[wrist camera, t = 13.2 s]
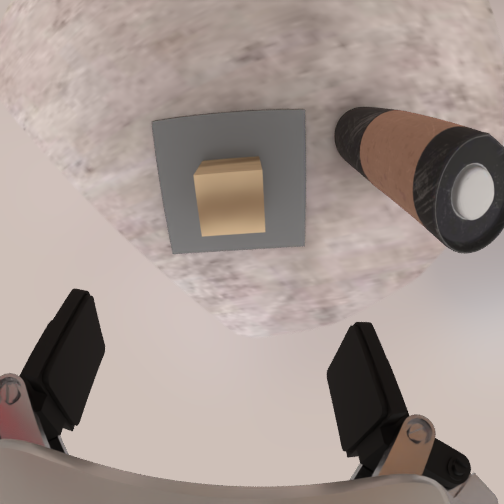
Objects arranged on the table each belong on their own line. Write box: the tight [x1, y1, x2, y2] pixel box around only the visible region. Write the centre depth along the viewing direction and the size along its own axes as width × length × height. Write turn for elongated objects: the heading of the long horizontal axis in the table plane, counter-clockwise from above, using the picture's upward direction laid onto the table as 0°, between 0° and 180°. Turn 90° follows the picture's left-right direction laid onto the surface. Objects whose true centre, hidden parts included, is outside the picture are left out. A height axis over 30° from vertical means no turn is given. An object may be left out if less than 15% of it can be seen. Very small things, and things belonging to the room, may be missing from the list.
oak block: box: [193, 156, 265, 237], centre depth 29 cm, size 6×6×6 cm
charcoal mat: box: [152, 109, 306, 254], centre depth 33 cm, size 16×16×1 cm
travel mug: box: [335, 107, 504, 253], centre depth 22 cm, size 8×8×20 cm
